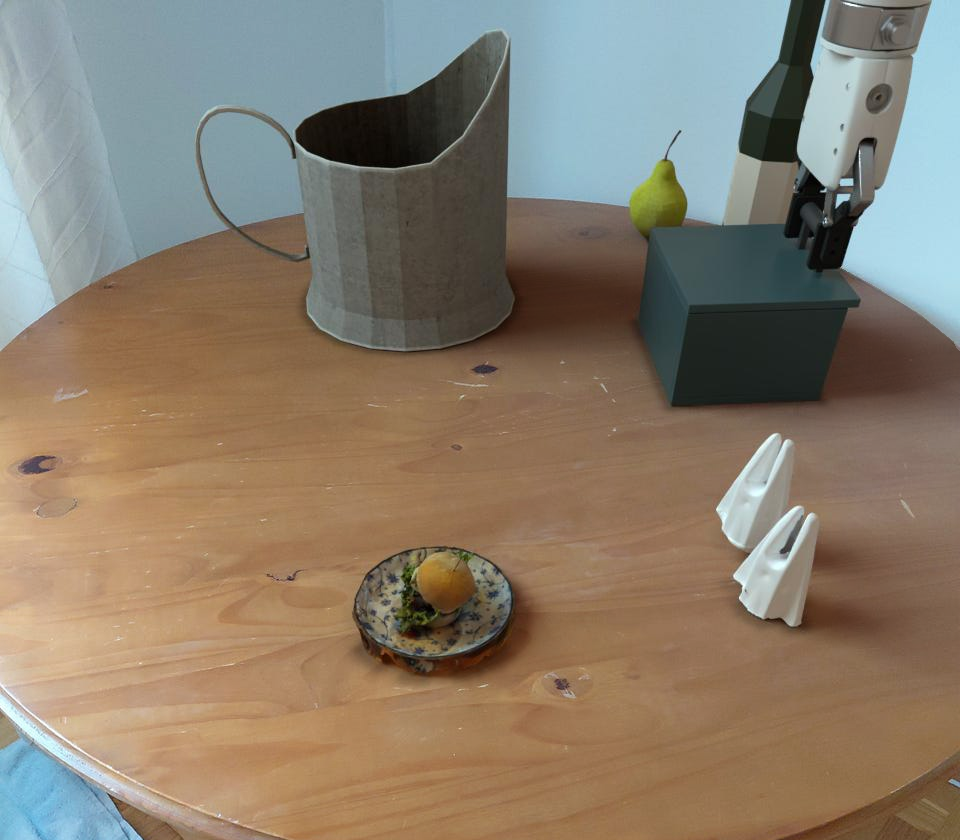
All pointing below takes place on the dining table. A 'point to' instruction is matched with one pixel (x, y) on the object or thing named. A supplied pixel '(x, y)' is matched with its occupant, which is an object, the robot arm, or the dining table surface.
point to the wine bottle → (775, 126)
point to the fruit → (659, 199)
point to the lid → (749, 267)
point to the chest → (734, 347)
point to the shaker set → (770, 534)
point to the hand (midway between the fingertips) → (811, 250)
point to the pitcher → (405, 206)
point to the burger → (434, 609)
